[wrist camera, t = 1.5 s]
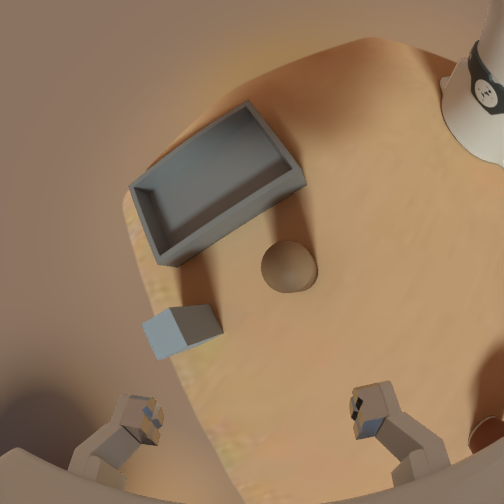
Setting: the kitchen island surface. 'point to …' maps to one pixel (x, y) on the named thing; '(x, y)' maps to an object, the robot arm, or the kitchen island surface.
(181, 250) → the tote
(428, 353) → the kitchen island surface
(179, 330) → the slate block
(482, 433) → the coffee cup
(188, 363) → the kitchen island surface
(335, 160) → the kitchen island surface
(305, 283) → the wooden cylinder
